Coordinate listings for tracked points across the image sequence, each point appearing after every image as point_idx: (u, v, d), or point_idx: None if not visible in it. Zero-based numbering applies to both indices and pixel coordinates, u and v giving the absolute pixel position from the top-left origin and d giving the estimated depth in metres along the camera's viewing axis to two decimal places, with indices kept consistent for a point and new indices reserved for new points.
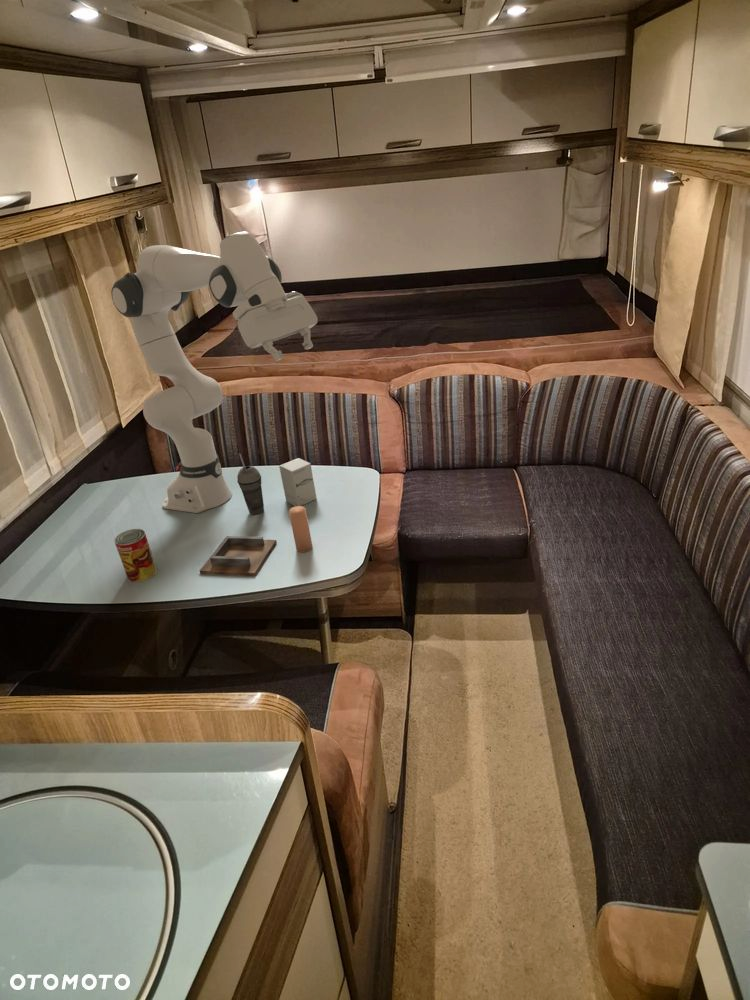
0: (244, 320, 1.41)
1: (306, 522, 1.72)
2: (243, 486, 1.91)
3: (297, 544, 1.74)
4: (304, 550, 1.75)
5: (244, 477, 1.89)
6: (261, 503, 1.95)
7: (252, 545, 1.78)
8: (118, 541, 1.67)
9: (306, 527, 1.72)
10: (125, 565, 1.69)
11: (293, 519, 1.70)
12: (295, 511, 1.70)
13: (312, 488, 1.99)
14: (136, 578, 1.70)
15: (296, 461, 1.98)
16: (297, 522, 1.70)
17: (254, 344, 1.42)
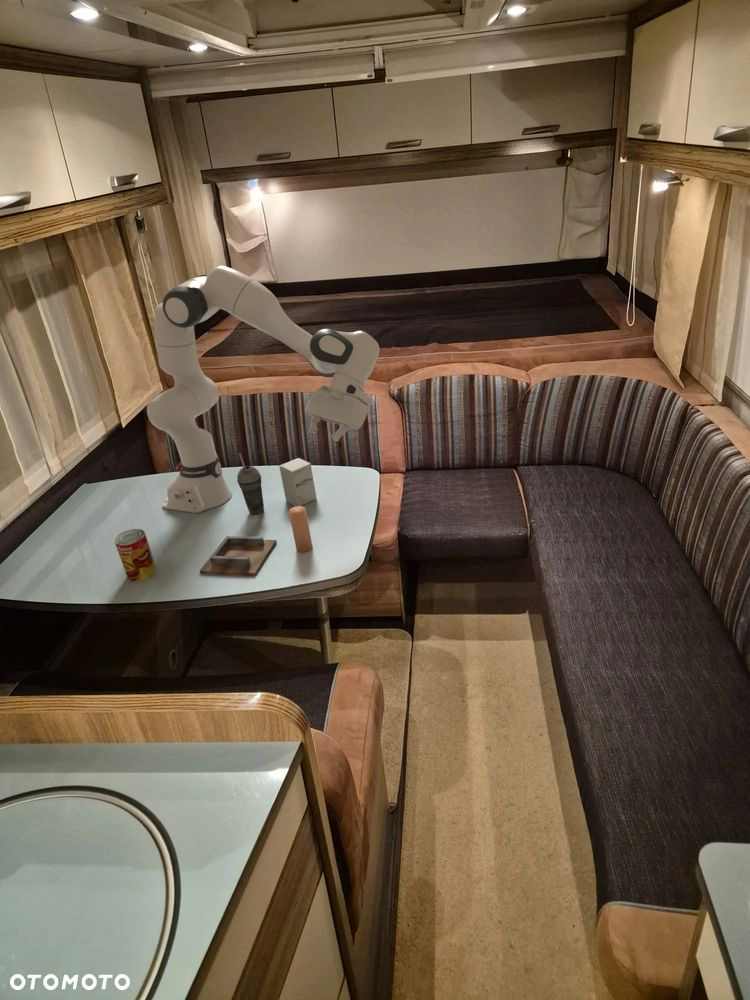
0: (366, 409, 1.66)
1: (306, 522, 1.72)
2: (243, 486, 1.91)
3: (297, 544, 1.74)
4: (304, 550, 1.75)
5: (244, 477, 1.89)
6: (261, 503, 1.95)
7: (252, 545, 1.78)
8: (118, 541, 1.67)
9: (306, 527, 1.72)
10: (125, 565, 1.69)
11: (292, 519, 1.70)
12: (295, 511, 1.70)
13: (312, 488, 1.99)
14: (136, 578, 1.70)
15: (296, 461, 1.98)
16: (297, 522, 1.70)
17: (356, 428, 1.65)
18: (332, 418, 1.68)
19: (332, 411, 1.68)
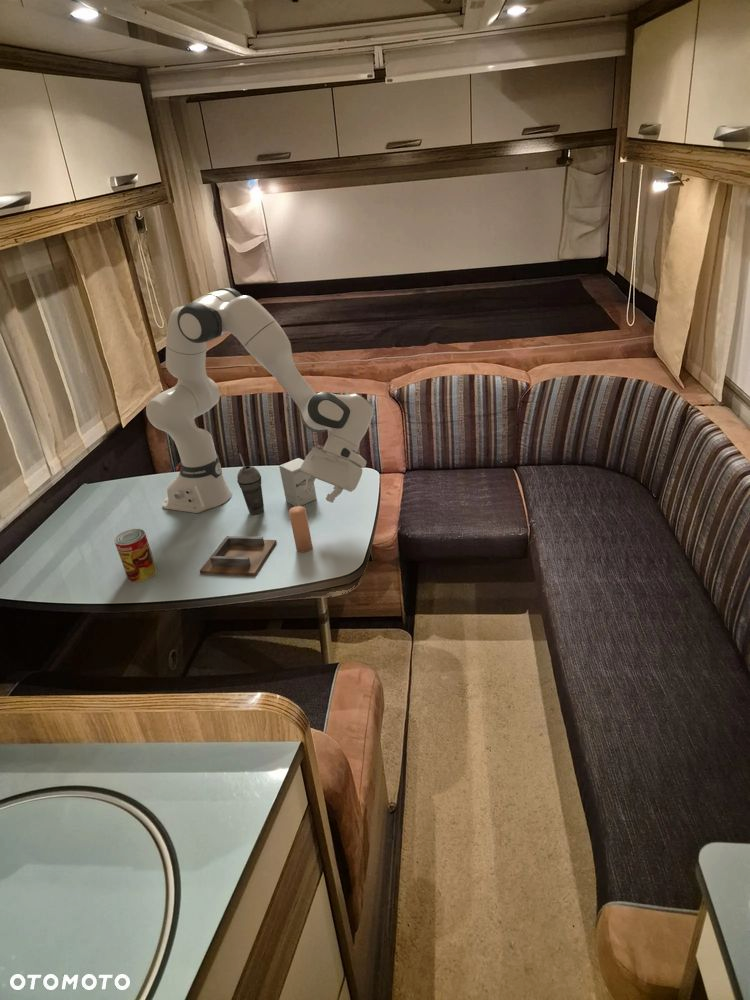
0: (360, 472, 1.70)
1: (306, 522, 1.72)
2: (243, 486, 1.91)
3: (297, 544, 1.74)
4: (304, 550, 1.75)
5: (244, 477, 1.89)
6: (261, 503, 1.95)
7: (252, 545, 1.78)
8: (119, 541, 1.67)
9: (306, 527, 1.72)
10: (125, 565, 1.69)
11: (292, 519, 1.70)
12: (295, 511, 1.70)
13: None
14: (136, 578, 1.70)
15: (296, 461, 1.98)
16: (297, 522, 1.70)
17: (350, 490, 1.69)
18: (327, 480, 1.72)
19: (327, 472, 1.73)
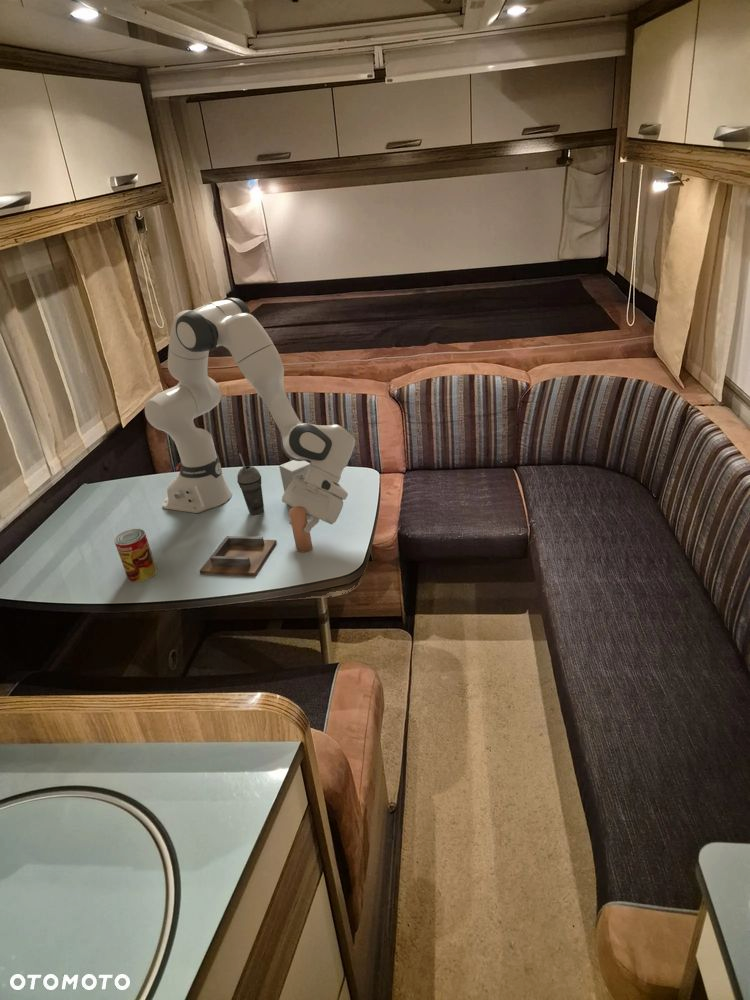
0: (340, 504, 1.69)
1: (306, 522, 1.72)
2: (243, 486, 1.91)
3: (297, 544, 1.74)
4: (304, 550, 1.74)
5: (244, 477, 1.89)
6: (261, 503, 1.95)
7: (252, 545, 1.78)
8: (118, 541, 1.67)
9: None
10: (125, 565, 1.69)
11: (292, 519, 1.70)
12: (295, 511, 1.70)
13: None
14: (136, 578, 1.70)
15: (296, 461, 1.98)
16: (297, 522, 1.70)
17: (330, 523, 1.68)
18: (307, 512, 1.71)
19: (308, 504, 1.72)
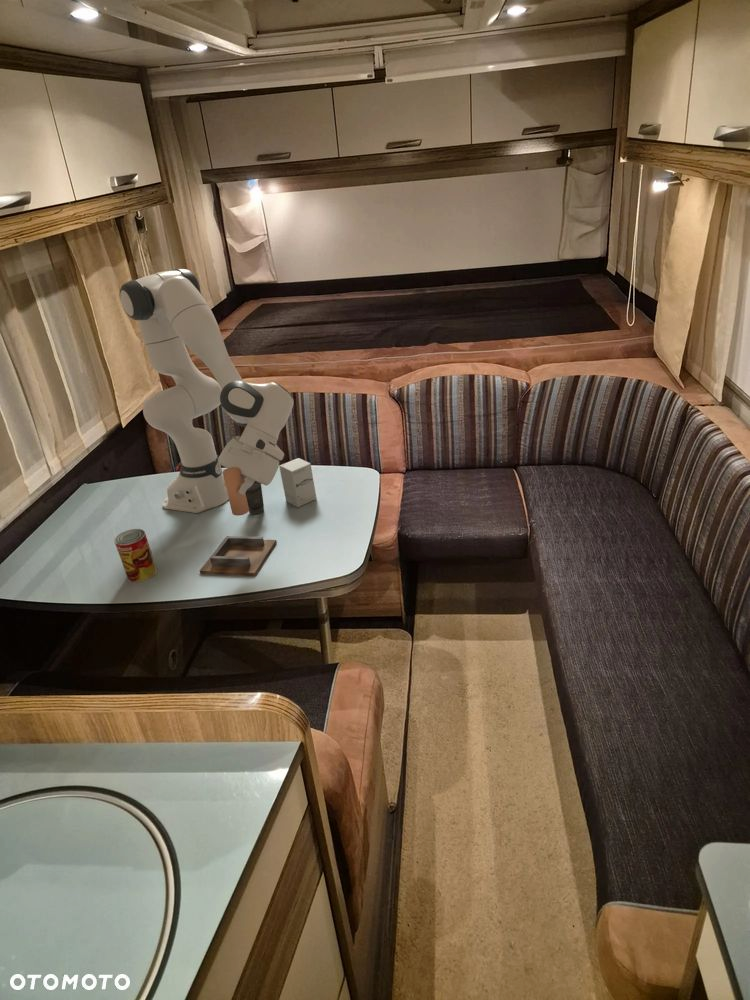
0: (276, 465, 1.62)
1: (241, 484, 1.65)
2: None
3: (232, 507, 1.67)
4: (239, 513, 1.68)
5: (244, 477, 1.89)
6: (261, 503, 1.95)
7: (252, 545, 1.78)
8: (118, 541, 1.67)
9: None
10: (125, 565, 1.69)
11: (226, 479, 1.63)
12: (229, 472, 1.63)
13: (312, 488, 1.99)
14: (136, 578, 1.70)
15: (296, 461, 1.98)
16: (230, 483, 1.63)
17: (265, 484, 1.61)
18: (242, 472, 1.64)
19: (243, 465, 1.64)
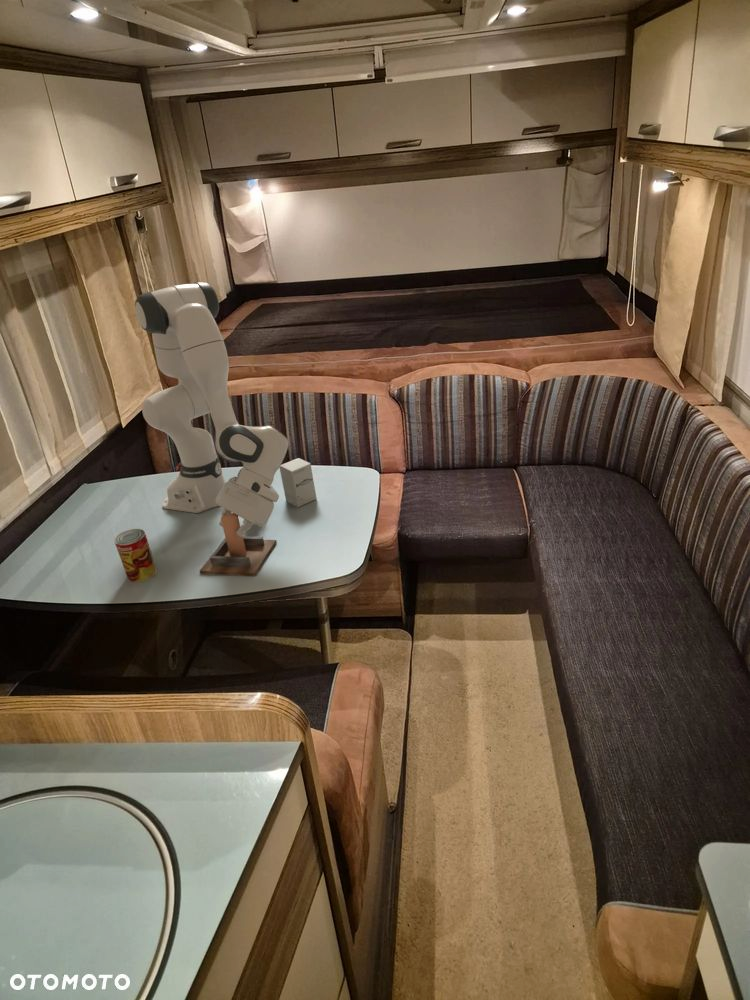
0: (271, 506, 1.67)
1: None
2: None
3: (230, 551, 1.73)
4: None
5: None
6: None
7: (252, 545, 1.78)
8: (118, 541, 1.67)
9: None
10: (125, 565, 1.69)
11: (224, 526, 1.69)
12: (227, 519, 1.69)
13: (312, 488, 1.99)
14: (136, 578, 1.70)
15: (296, 461, 1.98)
16: (229, 529, 1.69)
17: (260, 525, 1.66)
18: (238, 514, 1.69)
19: (239, 506, 1.70)
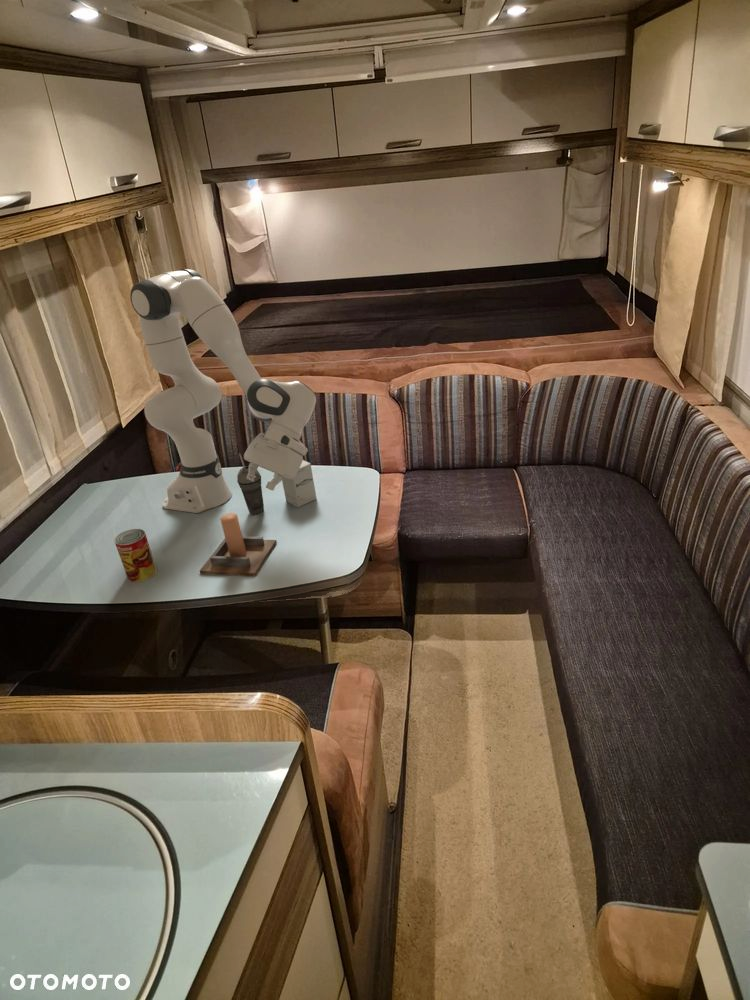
0: (300, 459, 1.69)
1: (238, 529, 1.71)
2: (243, 486, 1.90)
3: (230, 551, 1.73)
4: None
5: (244, 477, 1.89)
6: (261, 503, 1.95)
7: (252, 545, 1.78)
8: (119, 541, 1.67)
9: (238, 534, 1.71)
10: (125, 565, 1.69)
11: (224, 526, 1.69)
12: (226, 518, 1.69)
13: (312, 488, 1.99)
14: (136, 578, 1.70)
15: None
16: (228, 529, 1.69)
17: (289, 478, 1.68)
18: (267, 467, 1.71)
19: (268, 460, 1.72)
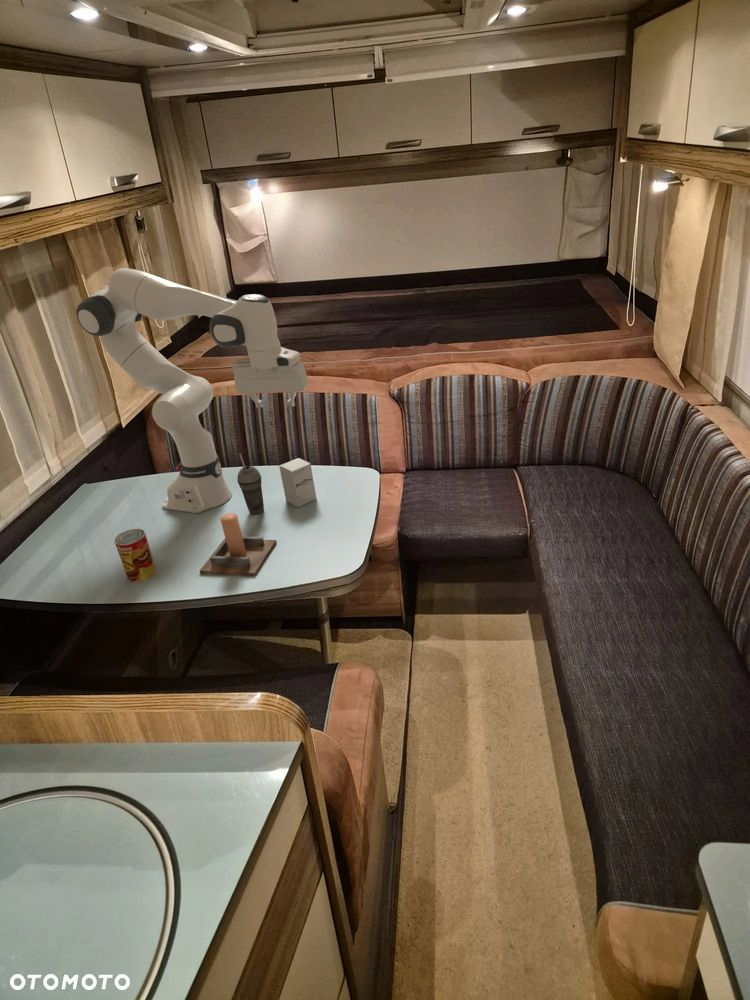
0: (302, 366, 1.70)
1: (238, 529, 1.71)
2: (243, 486, 1.91)
3: (230, 551, 1.73)
4: None
5: (244, 477, 1.89)
6: (261, 503, 1.95)
7: (252, 545, 1.78)
8: (118, 541, 1.67)
9: (238, 534, 1.71)
10: (125, 565, 1.69)
11: (224, 526, 1.69)
12: (226, 518, 1.69)
13: (312, 488, 1.99)
14: (136, 578, 1.70)
15: (296, 461, 1.98)
16: (228, 529, 1.69)
17: None
18: (278, 391, 1.72)
19: (272, 384, 1.71)
